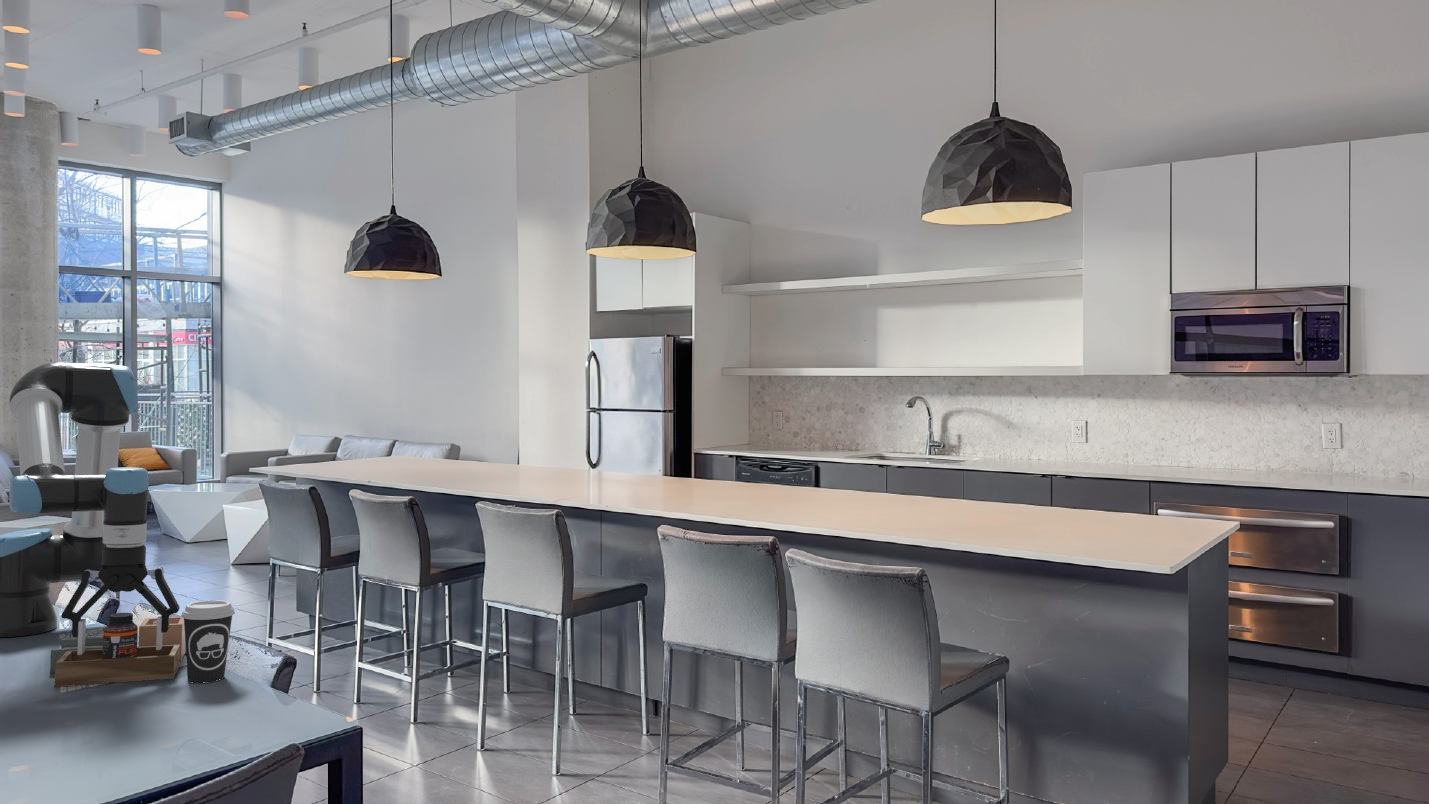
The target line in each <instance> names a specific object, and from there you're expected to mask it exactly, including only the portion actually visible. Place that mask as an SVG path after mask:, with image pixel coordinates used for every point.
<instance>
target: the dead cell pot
mask: <svg viewBox="0 0 1429 804" xmlns="http://www.w3.org/2000/svg"><path fill="white" fill-rule="evenodd" d="M157 618H158V617H145V618H143V620H142V621H141V623H140V624H139V626H138V640H137V647H139V646H156V637H157ZM173 644H180V662H179V663H182V661H183V659H184V658H185V656H186V643H185V628H184V618H182V617H181V616H169V629H168V631H167V632H163V636H162V645H173Z"/></svg>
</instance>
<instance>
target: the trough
mask: <svg viewBox="0 0 1429 804" xmlns="http://www.w3.org/2000/svg"><path fill="white" fill-rule="evenodd" d="M102 652H103V649H87V650H85V652H84V653H83V654H82V655H77V650H69V651H67V652H66V653H65V654H64V655H63V656H62V657H61V658H60V659H59V660H58V661H57V662H56V663H55V673H54V688H56V687H59V688H60V687H73V686H86V685H85V684H88V685H99V684H100V683H102V684H108V683H107V682H116V683H126V681H127V683H129V682H128V681H131V682H142V680H145V681H158V680H157V679H159V680H171V679H173V680H174V677H175V676H176V674H177V671H178V669H179V667H180V663H181V662H180V644H173V645H162V648H161V650H156V646H139V647H138V646H137V657H130V658H114V659H102ZM155 679H156V680H155ZM100 685H101V684H100Z"/></svg>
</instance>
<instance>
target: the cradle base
mask: <svg viewBox="0 0 1429 804" xmlns="http://www.w3.org/2000/svg"><path fill="white" fill-rule="evenodd" d="M60 645H61V646H60V648H52V649H51V650H50V663H49V665H50V668H49V673H51V674H53V673H54V674H55V663H56V662H57V661H58V660H59V659H60V658H61V657H62V656H63V655H64V654H65V653H66V652H67V651H69V650H78V648H66V647H78V637H72V638H62V639H61V641H60ZM101 645H103V636H93V637H91V636H89V637H85V646H100V647H85V650H87V649H103V646H101ZM64 648H65V649H64Z"/></svg>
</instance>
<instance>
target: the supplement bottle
mask: <svg viewBox="0 0 1429 804" xmlns="http://www.w3.org/2000/svg"><path fill="white" fill-rule="evenodd" d="M133 620H134V614H133V613H132V612H116V613H112V614H110V615H109V623H108V624H107V625H106V626H104V628H103V631H102V632H103V633H102V634H103V635H102V637H103V652H102V659H114V658H130V657H137V647H138V640H139V626H138V625H137V624H136V623H135V622H134V621H133Z"/></svg>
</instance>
